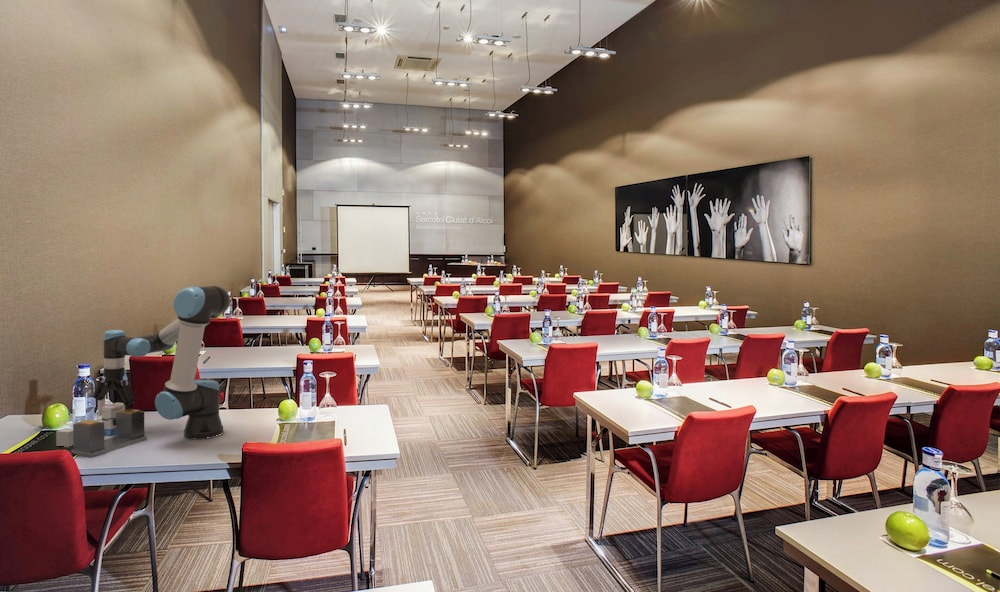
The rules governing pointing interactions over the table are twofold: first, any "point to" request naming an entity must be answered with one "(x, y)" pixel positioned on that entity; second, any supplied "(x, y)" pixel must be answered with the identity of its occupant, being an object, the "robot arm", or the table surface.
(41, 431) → the table surface
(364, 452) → the table surface
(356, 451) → the table surface
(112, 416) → the ink box
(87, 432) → the grey block holder
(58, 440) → the block
